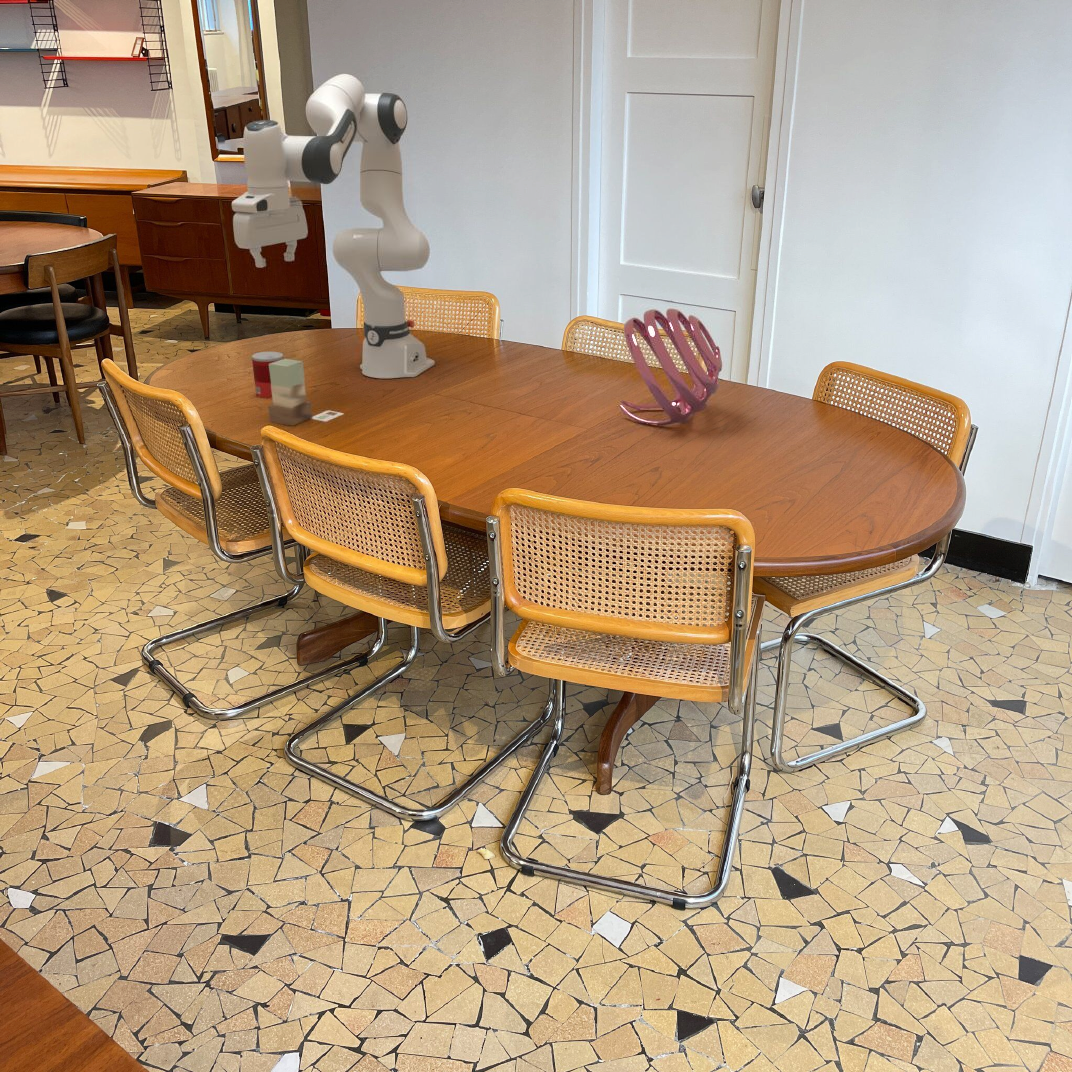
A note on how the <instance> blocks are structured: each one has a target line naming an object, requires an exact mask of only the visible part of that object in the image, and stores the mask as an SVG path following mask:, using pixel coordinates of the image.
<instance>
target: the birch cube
mask: <svg viewBox="0 0 1072 1072" xmlns="http://www.w3.org/2000/svg"><path fill="white" fill-rule="evenodd" d="M271 391H272V398H271V399H272V404H273V405H275V406H281V407H287V408H293V407H295V406H298V405H301V404H303V403H306V402H307V401H308V400H307V394H306V385H305V382H303V383H301V384H298V385H295V386H292V387H290V388H288V387H282V386H275V385H271Z"/></svg>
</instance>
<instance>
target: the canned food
mask: <svg viewBox="0 0 1072 1072" xmlns="http://www.w3.org/2000/svg"><path fill="white" fill-rule="evenodd" d="M284 357H285V356H284V353H281V352H278V351H261V352H260V351H259V352H256V353H254V354H252V356H251V361H252V362H251V364H252V371H253V378H254V379H253V380H254V386H255V387H254V388H255V395H256V397H257V398H264V399H265V398H266V399H269V398H270V399H272V391H271V379H270V371H269V364H270V363H273V362H276V361H279V360H282V359H285V358H284Z"/></svg>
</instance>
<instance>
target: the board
mask: <svg viewBox="0 0 1072 1072" xmlns="http://www.w3.org/2000/svg"><path fill="white" fill-rule="evenodd" d="M344 415H345V413H343V412H338V411H333V410H330V409H329V410H325V411H322V412H320V413H318V414H315V415H312V418H310V419H309V420H315V421H319V422H325V423H326V422H329V421H331V420H333V419H336V418H338V417H341V416H344Z"/></svg>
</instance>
